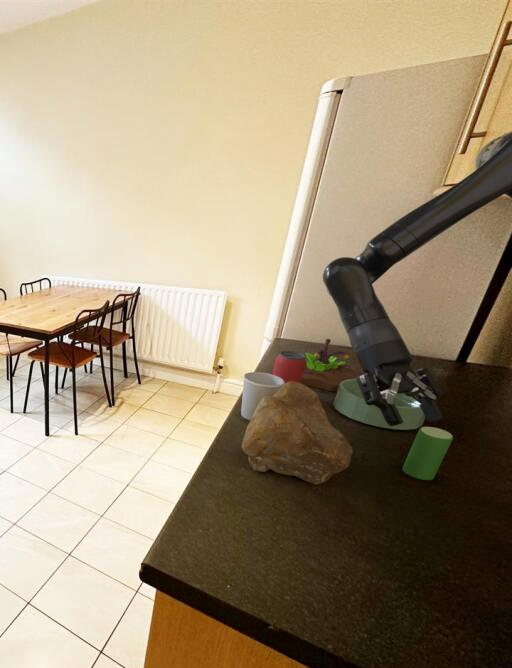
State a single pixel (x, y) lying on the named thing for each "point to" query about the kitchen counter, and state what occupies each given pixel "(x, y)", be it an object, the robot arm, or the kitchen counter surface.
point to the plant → (327, 370)
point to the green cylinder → (427, 453)
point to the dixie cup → (258, 390)
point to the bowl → (357, 409)
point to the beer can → (290, 366)
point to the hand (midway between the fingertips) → (416, 422)
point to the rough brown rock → (295, 436)
